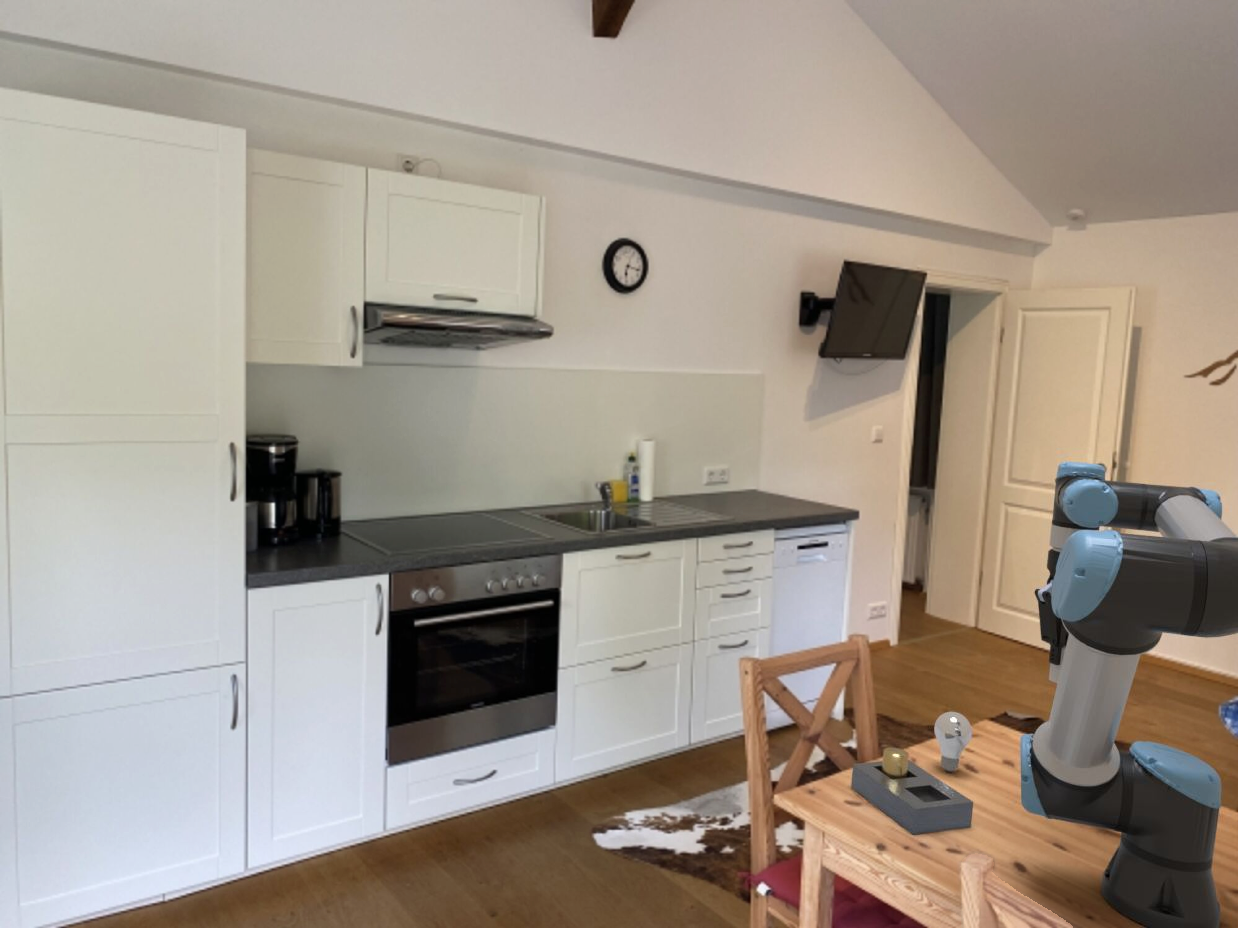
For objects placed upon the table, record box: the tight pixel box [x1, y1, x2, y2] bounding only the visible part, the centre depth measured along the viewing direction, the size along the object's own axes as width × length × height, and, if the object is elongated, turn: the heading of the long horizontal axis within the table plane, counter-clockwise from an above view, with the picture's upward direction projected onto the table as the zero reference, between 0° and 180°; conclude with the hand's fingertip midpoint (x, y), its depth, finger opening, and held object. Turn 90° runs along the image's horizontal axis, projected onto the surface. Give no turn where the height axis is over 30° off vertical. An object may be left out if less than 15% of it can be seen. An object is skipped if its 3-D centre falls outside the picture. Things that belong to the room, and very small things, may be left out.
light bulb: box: [933, 711, 973, 774], centre depth 178 cm, size 7×7×12 cm
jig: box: [850, 759, 974, 836], centre depth 162 cm, size 18×12×4 cm, turn 20°
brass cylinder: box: [882, 747, 910, 780], centre depth 166 cm, size 4×4×8 cm
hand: (1057, 681), depth 160 cm, fingers closed
